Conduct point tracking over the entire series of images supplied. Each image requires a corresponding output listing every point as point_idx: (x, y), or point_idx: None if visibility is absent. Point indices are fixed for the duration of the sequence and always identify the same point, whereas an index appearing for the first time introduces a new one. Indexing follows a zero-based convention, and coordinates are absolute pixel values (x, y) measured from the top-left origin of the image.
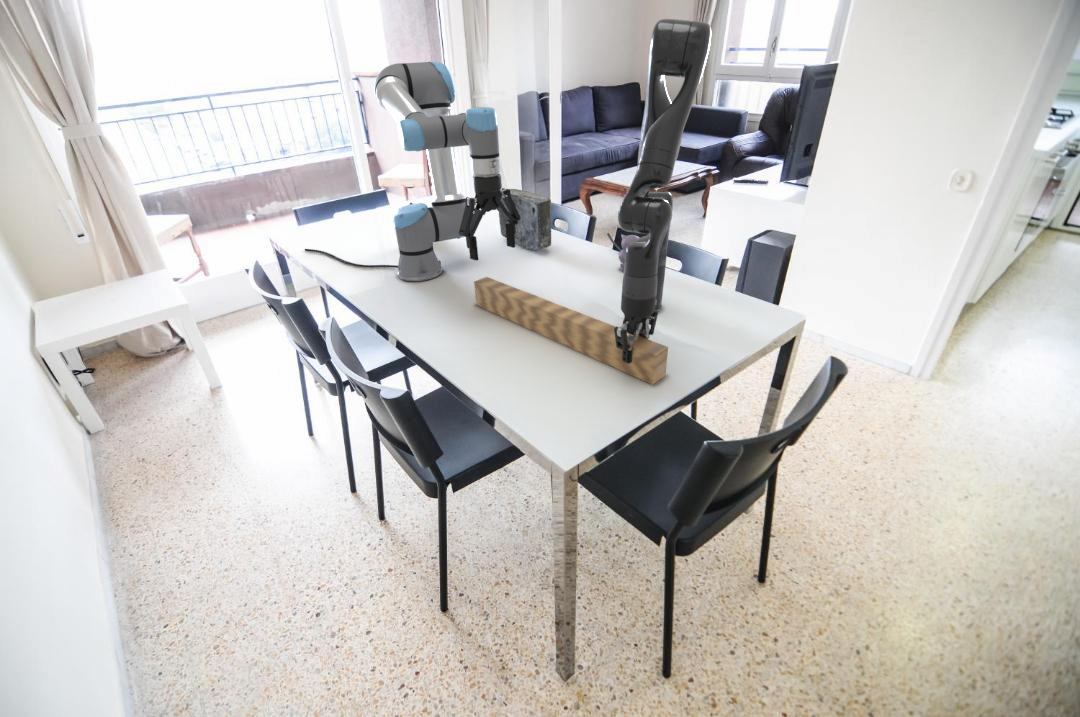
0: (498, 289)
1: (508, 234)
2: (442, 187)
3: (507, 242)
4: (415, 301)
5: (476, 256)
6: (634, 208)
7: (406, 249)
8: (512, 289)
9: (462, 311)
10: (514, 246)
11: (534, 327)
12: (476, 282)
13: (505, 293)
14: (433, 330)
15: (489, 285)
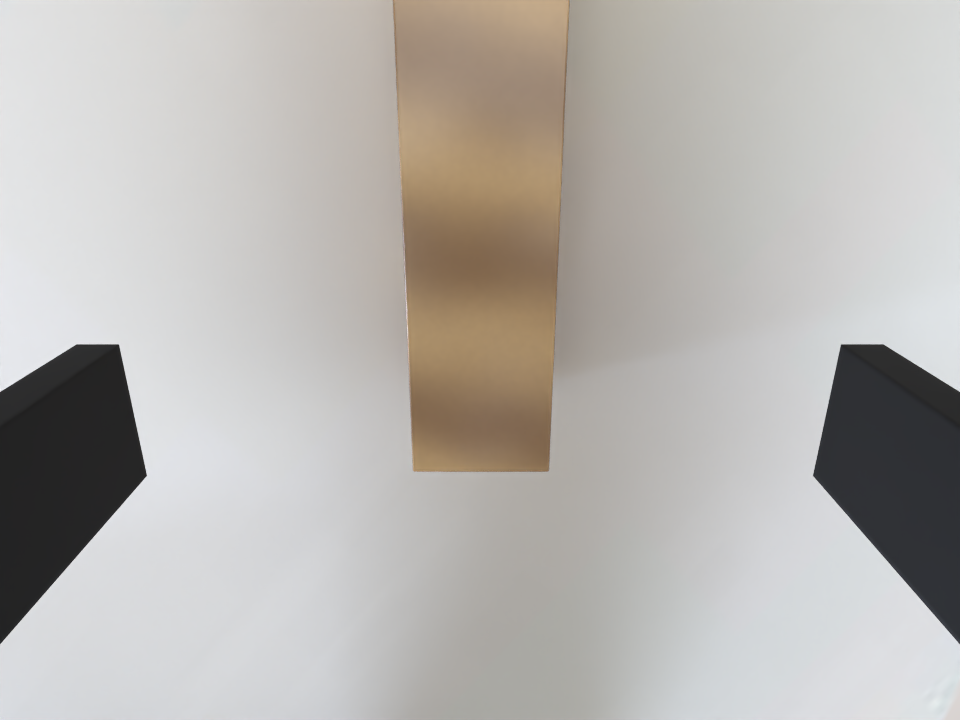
0: (531, 184)
1: (13, 551)
2: None
3: (115, 492)
4: (716, 659)
5: (912, 369)
6: None
7: None
8: (442, 76)
9: (648, 382)
10: (82, 351)
11: None
12: (549, 442)
13: (553, 55)
14: (940, 311)
15: (521, 317)
